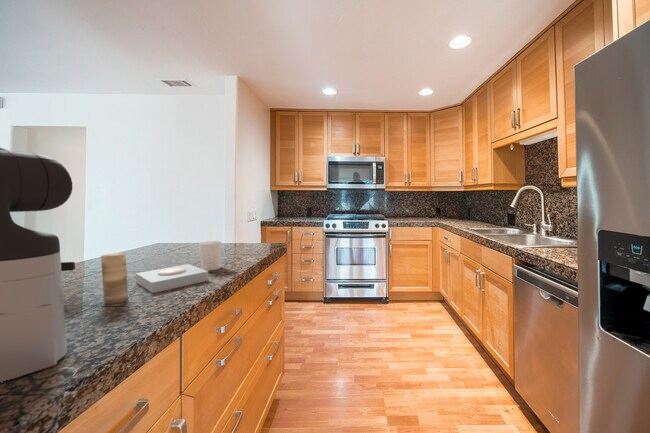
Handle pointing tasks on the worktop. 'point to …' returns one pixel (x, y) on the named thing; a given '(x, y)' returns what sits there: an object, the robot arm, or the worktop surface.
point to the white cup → (210, 255)
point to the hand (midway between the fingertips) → (62, 269)
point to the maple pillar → (114, 278)
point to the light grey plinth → (171, 277)
